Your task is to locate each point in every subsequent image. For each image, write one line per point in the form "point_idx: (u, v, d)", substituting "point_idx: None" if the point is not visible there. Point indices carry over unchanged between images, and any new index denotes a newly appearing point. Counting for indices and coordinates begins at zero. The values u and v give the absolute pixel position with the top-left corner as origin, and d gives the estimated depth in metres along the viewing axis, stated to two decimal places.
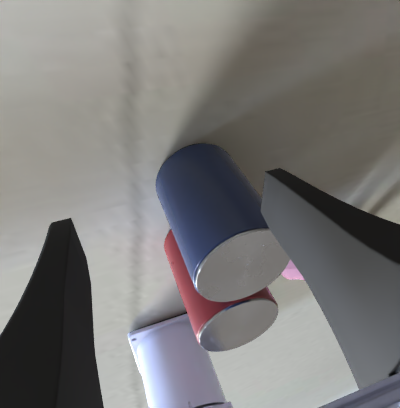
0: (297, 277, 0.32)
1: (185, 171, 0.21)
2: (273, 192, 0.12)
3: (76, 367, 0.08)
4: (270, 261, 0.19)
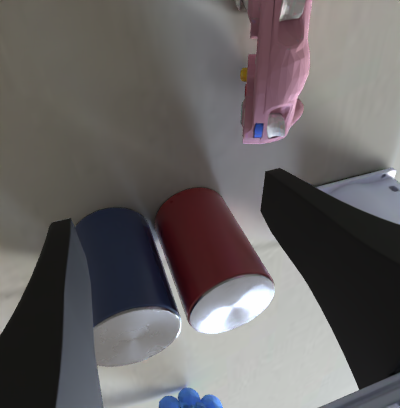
0: None
1: None
2: (273, 192, 0.12)
3: (76, 367, 0.08)
4: (129, 326, 0.19)
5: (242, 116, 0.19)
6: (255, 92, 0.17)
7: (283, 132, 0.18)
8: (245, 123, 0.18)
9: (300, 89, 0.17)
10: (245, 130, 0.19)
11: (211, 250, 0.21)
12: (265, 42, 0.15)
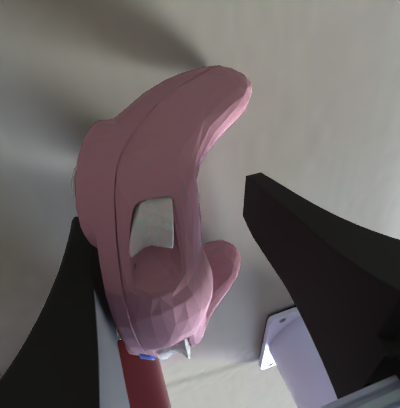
0: None
1: None
2: (253, 197, 0.12)
3: (108, 356, 0.08)
4: None
5: None
6: None
7: None
8: (126, 344, 0.12)
9: (198, 322, 0.10)
10: (129, 351, 0.12)
11: None
12: (113, 288, 0.08)
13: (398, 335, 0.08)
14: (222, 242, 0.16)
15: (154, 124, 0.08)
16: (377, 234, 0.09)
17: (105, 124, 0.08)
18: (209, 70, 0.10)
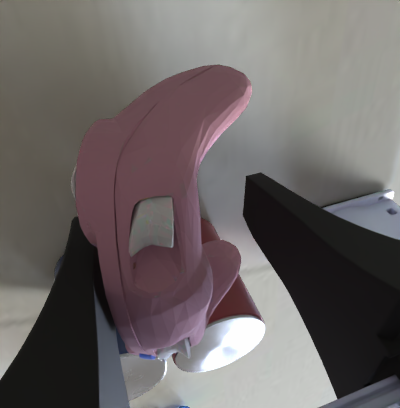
0: None
1: None
2: (253, 197, 0.12)
3: (108, 356, 0.08)
4: None
5: None
6: None
7: (187, 356, 0.12)
8: (126, 344, 0.12)
9: (198, 322, 0.10)
10: (129, 351, 0.12)
11: None
12: (112, 288, 0.08)
13: (398, 335, 0.08)
14: (222, 242, 0.16)
15: (154, 123, 0.08)
16: (377, 234, 0.09)
17: (105, 124, 0.08)
18: (209, 69, 0.10)
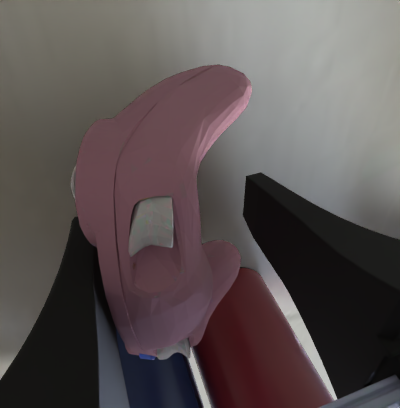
0: None
1: None
2: (253, 197, 0.12)
3: (108, 356, 0.08)
4: None
5: None
6: None
7: (186, 356, 0.12)
8: (126, 344, 0.12)
9: (198, 322, 0.10)
10: (128, 351, 0.12)
11: (260, 372, 0.17)
12: (112, 288, 0.08)
13: (398, 335, 0.08)
14: (222, 242, 0.16)
15: (154, 123, 0.08)
16: (377, 234, 0.09)
17: (105, 123, 0.08)
18: (209, 69, 0.10)
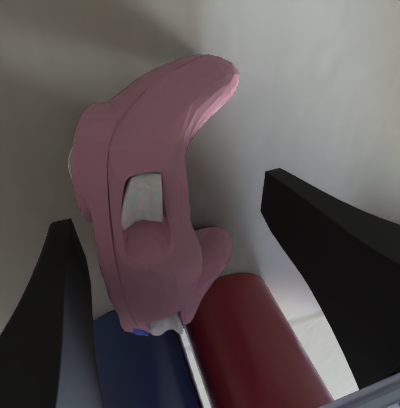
0: None
1: None
2: (273, 192, 0.12)
3: (76, 367, 0.08)
4: None
5: None
6: None
7: (178, 332, 0.12)
8: (121, 321, 0.12)
9: (188, 296, 0.11)
10: (123, 327, 0.13)
11: (264, 381, 0.16)
12: (107, 260, 0.09)
13: None
14: (215, 228, 0.17)
15: (145, 105, 0.09)
16: None
17: (99, 106, 0.09)
18: (198, 58, 0.11)
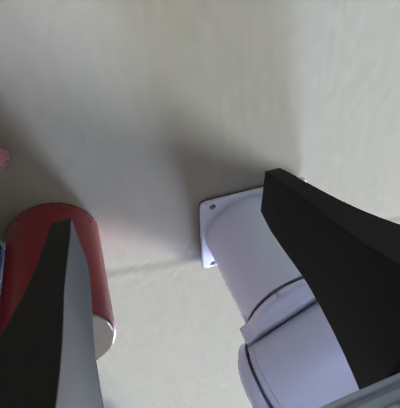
0: None
1: None
2: (273, 192, 0.12)
3: (76, 367, 0.08)
4: None
5: None
6: None
7: None
8: None
9: None
10: None
11: None
12: None
13: None
14: None
15: None
16: None
17: None
18: None
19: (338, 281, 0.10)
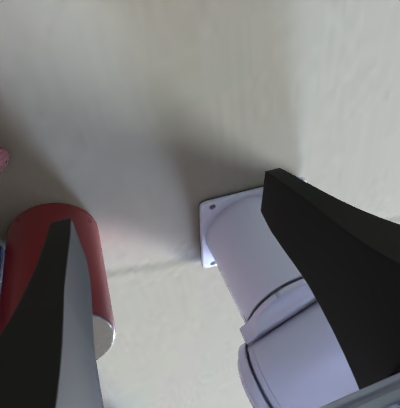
0: None
1: None
2: (273, 192, 0.12)
3: (76, 367, 0.08)
4: None
5: None
6: None
7: None
8: None
9: None
10: None
11: None
12: None
13: None
14: None
15: None
16: None
17: None
18: None
19: (338, 281, 0.10)
